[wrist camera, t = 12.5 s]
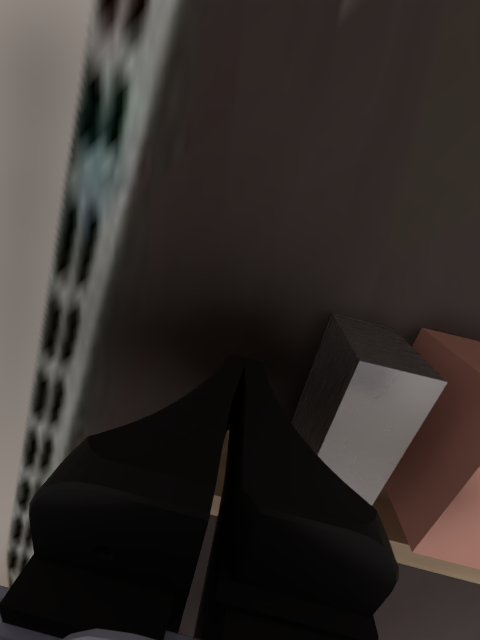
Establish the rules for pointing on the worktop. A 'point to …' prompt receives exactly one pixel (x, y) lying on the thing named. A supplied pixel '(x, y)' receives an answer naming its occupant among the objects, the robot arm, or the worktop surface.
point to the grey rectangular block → (365, 401)
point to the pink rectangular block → (444, 458)
